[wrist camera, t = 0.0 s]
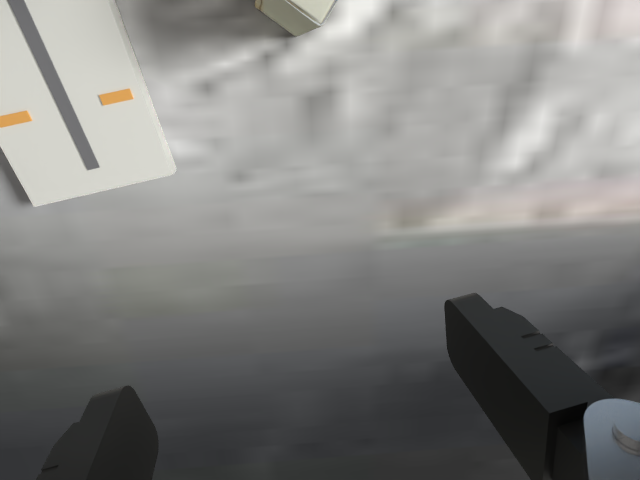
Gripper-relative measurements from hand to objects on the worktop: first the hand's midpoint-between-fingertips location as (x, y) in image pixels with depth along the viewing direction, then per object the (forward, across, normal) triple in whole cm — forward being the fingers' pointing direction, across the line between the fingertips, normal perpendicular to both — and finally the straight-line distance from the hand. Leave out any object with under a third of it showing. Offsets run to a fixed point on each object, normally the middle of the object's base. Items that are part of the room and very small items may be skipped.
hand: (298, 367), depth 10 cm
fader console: (+29, +14, -11) cm, 34 cm away
